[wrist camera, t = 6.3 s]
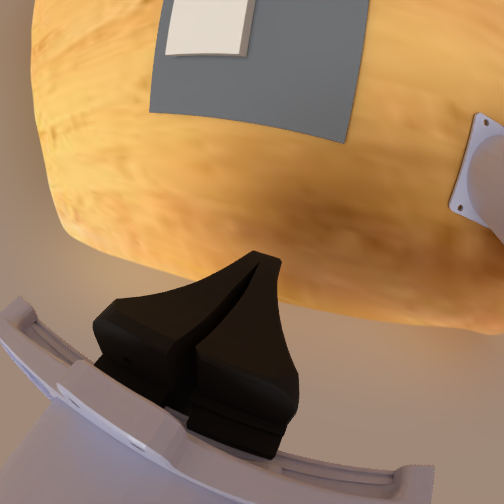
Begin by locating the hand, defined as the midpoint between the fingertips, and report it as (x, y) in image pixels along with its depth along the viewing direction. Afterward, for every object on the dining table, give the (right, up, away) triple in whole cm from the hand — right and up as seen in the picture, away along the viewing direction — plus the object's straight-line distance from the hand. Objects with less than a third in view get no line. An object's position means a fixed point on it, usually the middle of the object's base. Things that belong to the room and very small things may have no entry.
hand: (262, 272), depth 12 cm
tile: (-1, +17, +1) cm, 17 cm away
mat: (0, +18, +3) cm, 18 cm away
